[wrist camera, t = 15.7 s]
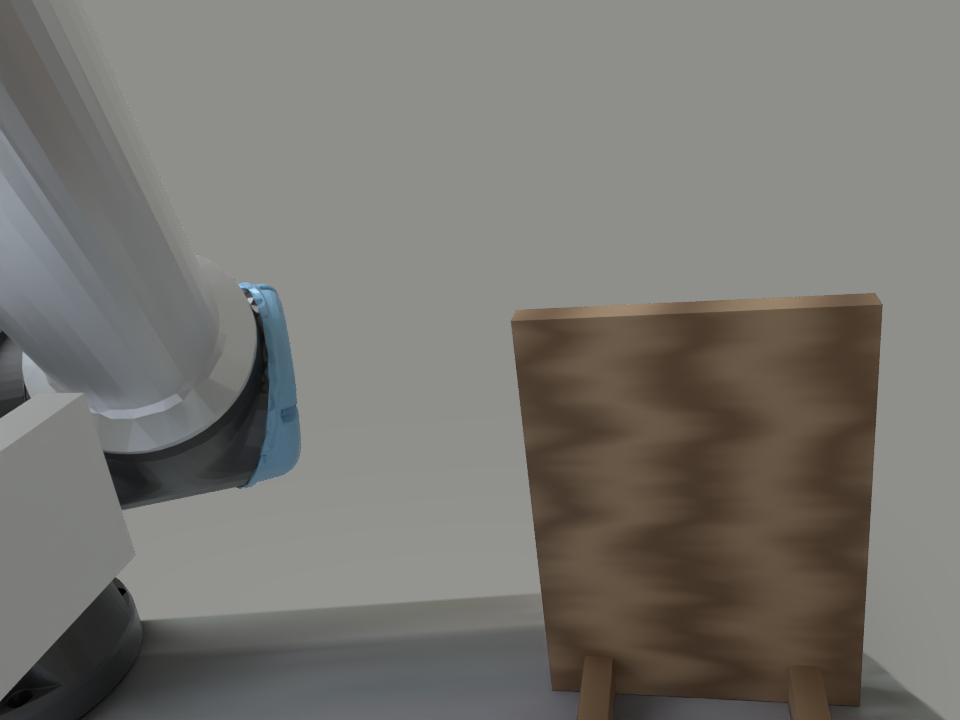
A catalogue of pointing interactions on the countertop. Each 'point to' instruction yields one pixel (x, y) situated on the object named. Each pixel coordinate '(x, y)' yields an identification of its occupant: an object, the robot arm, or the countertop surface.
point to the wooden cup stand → (703, 496)
